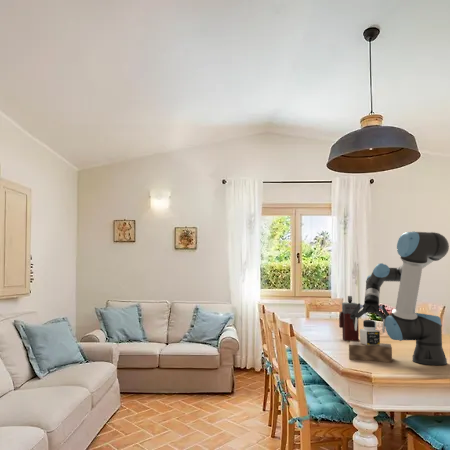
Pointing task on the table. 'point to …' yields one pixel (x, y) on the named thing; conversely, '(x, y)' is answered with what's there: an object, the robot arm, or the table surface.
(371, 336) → the medicine bottle
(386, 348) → the walnut box
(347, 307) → the dark red tall piece
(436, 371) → the table surface
